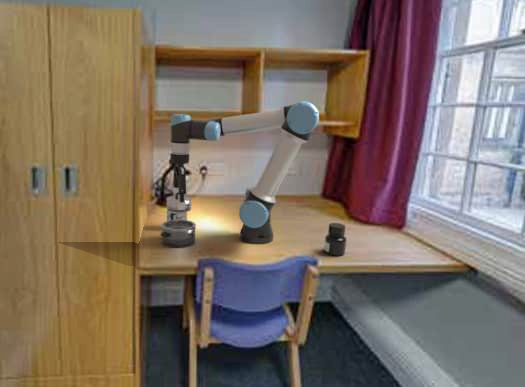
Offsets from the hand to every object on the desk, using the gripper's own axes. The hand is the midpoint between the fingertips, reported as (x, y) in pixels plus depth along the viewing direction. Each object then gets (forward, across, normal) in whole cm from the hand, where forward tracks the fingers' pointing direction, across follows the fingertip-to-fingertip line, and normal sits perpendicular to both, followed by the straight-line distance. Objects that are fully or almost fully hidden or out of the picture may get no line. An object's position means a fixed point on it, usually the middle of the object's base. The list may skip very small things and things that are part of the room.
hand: (178, 206), depth 174 cm
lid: (+1, 0, 0) cm, 1 cm away
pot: (+16, 0, 0) cm, 16 cm away
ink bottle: (+16, +26, +61) cm, 68 cm away
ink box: (+16, -17, +2) cm, 24 cm away
